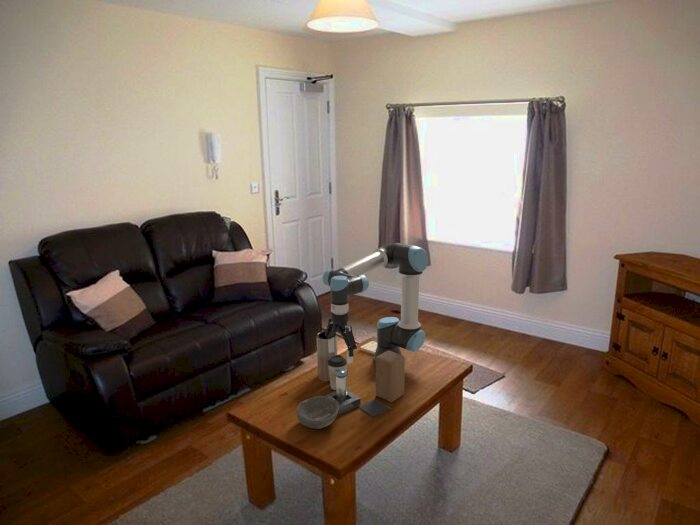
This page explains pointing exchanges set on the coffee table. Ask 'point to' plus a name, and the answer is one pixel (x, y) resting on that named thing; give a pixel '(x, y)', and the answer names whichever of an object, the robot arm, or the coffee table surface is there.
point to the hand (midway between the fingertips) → (340, 357)
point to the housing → (345, 405)
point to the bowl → (317, 412)
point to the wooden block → (390, 375)
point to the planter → (324, 355)
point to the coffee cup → (334, 364)
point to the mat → (374, 408)
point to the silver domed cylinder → (341, 384)
